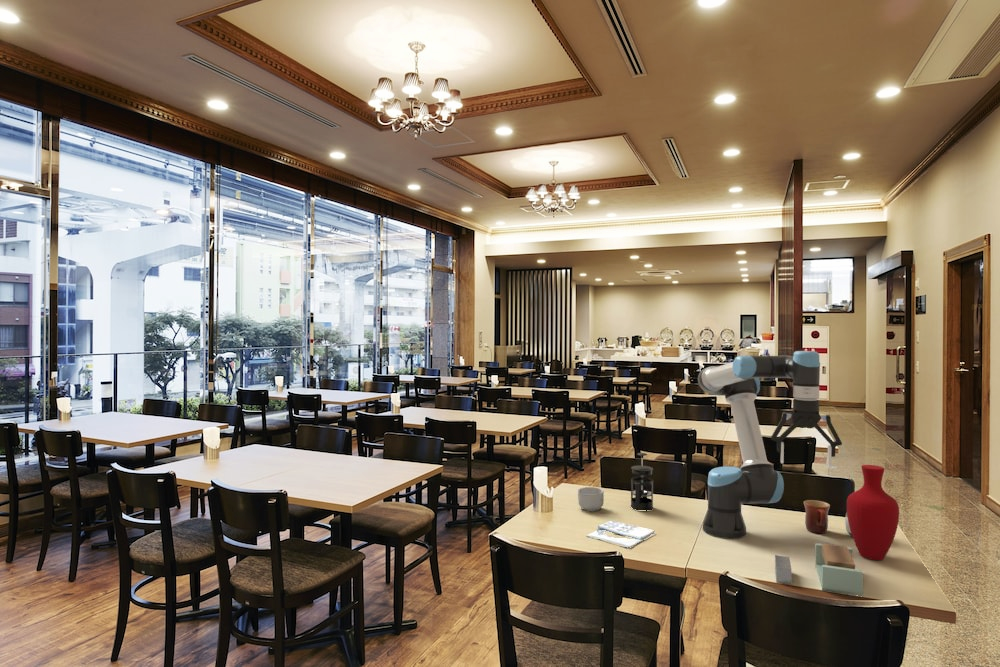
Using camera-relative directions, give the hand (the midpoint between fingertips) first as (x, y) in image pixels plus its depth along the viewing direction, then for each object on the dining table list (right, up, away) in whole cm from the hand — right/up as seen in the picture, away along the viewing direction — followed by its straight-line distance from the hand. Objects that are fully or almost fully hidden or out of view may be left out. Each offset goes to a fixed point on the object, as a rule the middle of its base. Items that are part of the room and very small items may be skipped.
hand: (805, 464), depth 190 cm
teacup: (-61, -31, +57) cm, 89 cm away
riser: (-12, -32, -11) cm, 36 cm away
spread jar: (+34, -32, +25) cm, 53 cm away
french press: (-39, -31, +56) cm, 75 cm away
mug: (+19, -32, +28) cm, 46 cm away
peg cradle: (+3, -32, -13) cm, 34 cm away
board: (+3, -27, -13) cm, 30 cm away
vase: (+25, -32, +5) cm, 41 cm away
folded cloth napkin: (-55, -32, +25) cm, 68 cm away
